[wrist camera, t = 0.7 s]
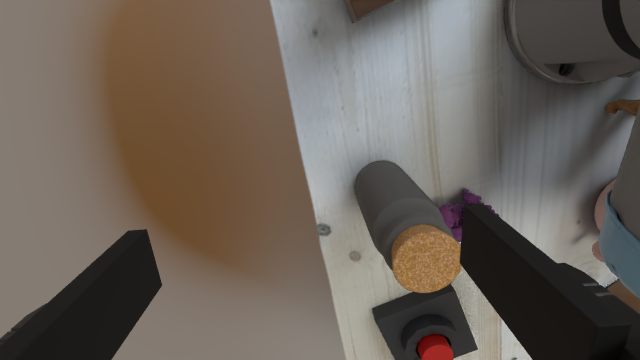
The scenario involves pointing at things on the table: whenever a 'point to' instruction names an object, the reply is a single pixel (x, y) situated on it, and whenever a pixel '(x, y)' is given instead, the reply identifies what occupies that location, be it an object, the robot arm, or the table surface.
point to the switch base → (424, 323)
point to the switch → (434, 348)
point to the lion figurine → (623, 106)
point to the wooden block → (625, 295)
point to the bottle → (407, 228)
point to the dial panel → (364, 7)
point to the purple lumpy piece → (459, 213)
